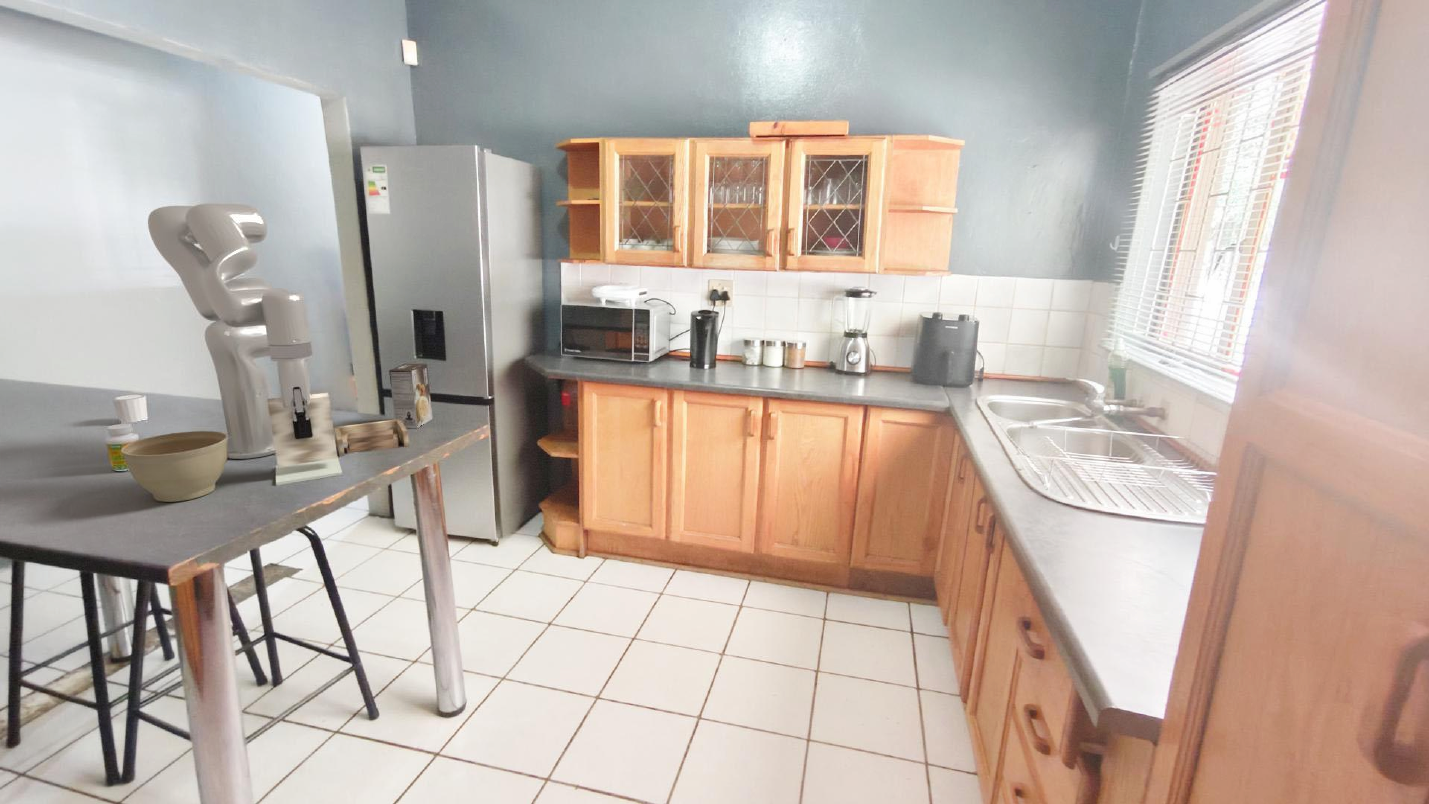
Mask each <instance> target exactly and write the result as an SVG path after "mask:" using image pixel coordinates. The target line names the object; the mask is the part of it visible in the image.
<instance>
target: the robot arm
mask: <svg viewBox="0 0 1429 804" xmlns="http://www.w3.org/2000/svg"><path fill="white" fill-rule="evenodd" d="M147 227H148V232H149V235H150V238H151V240H152V242H153V244H154V246H155V248H156V249H157V251H158V253H159V254H160V255H161V256H162V257H163V259H164V260H165V261H166V262H167V263H168V265H170V266H171V268H173V270H174V271H175V272H176V274H177V275H178V276H179V278H180V281H181V282H182V284H183V286H184V288H185V290H186V291H187V294H188V295H189V297H190V299H191V302H192V303H193V305H194V306H195V309H196V311H198V314H200V316H201V317H203V318H204V319H206V320H208V321H211V322H212V323H210V324H209V325H208V326H207V327H206V329H205V331H204V341H205V344H206V347H207V349H208V351H209V355H210V357H211V360H212V363H213V366H214V370H215V372H216V378H217V382H218V387H219V394H220V398H221V404H222V405H221V406H222V409H223V416H224V420H225V427H226V431H227V432H226V435H227V437H228V442H227V448H228V454H227V459H230V460H231V459H232V460H244V459H245V460H247V459H254V458H262V457H266V456H271V455H274V454H276V452H275V446H274V439H273V433H272V427H271V421H270V415H269V409H268V399H272V392H271V385H270V380H269V377H268V374H267V373H266V371H265V370H263V368H261V367H260V366H259V365H257V364H256V362H254V360H255V359H259V358H265V357H270V358H269V359H270V361H272V362H276V363H277V374H278V381H279V386H280V387H279V389H280V393H281V398H282V401H283V407H284V408H287V406H290V405H292V412H293V419H294V421H293V427H294V434H295V439H303V438H311V437H312V436H313V434H312V427H311V420H310V419H309V416H308V409H307V406H309V405H310V395H311V385H310V375H309V367H308V360H310V359H312V358H313V357H314V355H313V349H312V340H311V334H310V327H309V320H308V313H307V306H306V301H305V297H304V295H303V294H302V293H300V292H297V291H289V290H287V289H285V288H273V286H271V285H270V284H269V283H268V282H267V281H265V280H263V279H260V278H238V277H240V276H242V275H245V274H246V273H248V272H250V271H251V270H252V269H253V268H254V267H255V266H256V264H257V262H258V254H257V251H256V250H255V249H254V247H253V245H252V244H259V243H261V242H263V241H264V240H265V238H266V237H267V235H268V225H267V222H266V219H265V218H264V216H263V214H262V213H261V212H260V211H259V210H258V209H257V208H255V207H253V206H251V205H248V204H232V203H231V204H230V203H199V204H196V205H168V206H162V207H158V208H155V209H153V210H152V211H151V212H150V213H149V215H148V218H147ZM197 245H199V246H200V247H198V246H197ZM306 400H307V401H306ZM293 403H294V404H296V406H294V405H293ZM302 403H305V405H303V404H302ZM303 408H305V410H303ZM295 409H296V410H295ZM305 415H306V417H305Z"/></svg>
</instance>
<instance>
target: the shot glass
mask: <svg viewBox="0 0 1429 804" xmlns="http://www.w3.org/2000/svg"><path fill="white" fill-rule="evenodd" d="M111 400H112V403H113V405H114V409H115V412H116V414H117V416H118V417H117V418H118V420H119V422H120V421H121V422H137V421H141V420H147V419H148V408H147V407H148V405H147V396H146V395H145V394H139V393H137V394H126V395H121V396H117V397H114V398H112V399H111ZM148 420H149V419H148Z"/></svg>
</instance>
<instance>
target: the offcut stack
mask: <svg viewBox="0 0 1429 804" xmlns="http://www.w3.org/2000/svg"><path fill="white" fill-rule="evenodd" d="M399 448H400V447H399V436H398V435H397V434H393V429H392V430H382V431H372V432H363V433H353V434H348V436H347V448H346V452H347V454H355V452H358V453H365V452H373V451H372V450H375V451H380V450H379V449H384V450H390V449H391V450H392V449H399Z"/></svg>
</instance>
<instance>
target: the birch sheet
mask: <svg viewBox="0 0 1429 804" xmlns="http://www.w3.org/2000/svg"><path fill="white" fill-rule="evenodd" d="M306 401H307V400H306ZM302 404H303V405H305V403H302ZM293 405H294V406H296V404H294V403H293ZM331 408H332V407H331V401H330V395H329V392H323V393H312V394H311V393H310V405H309V406H307V409H308V416H309V419H310V420H311V427H312V434H313V436H312V437H311V438H303V439H295V434H294V427H293V421H294V419H293V412H292V405H290V406H287V408H284V407H283V401H282V397H275V398H272V399H268V409H269V415H270V421H271V427H272V433H273V439H274V446H275V452H276V453H275V458H276V463H277V465H278V467H282V466H289V465H295V464H302V463H309V462H315V461H322V460H328V459H335V458H337V457H338V450H337V445H336V441H335V433H334V423H333V417H332V409H331ZM295 410H296V409H295ZM303 410H305V408H303ZM305 417H306V415H305Z"/></svg>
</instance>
